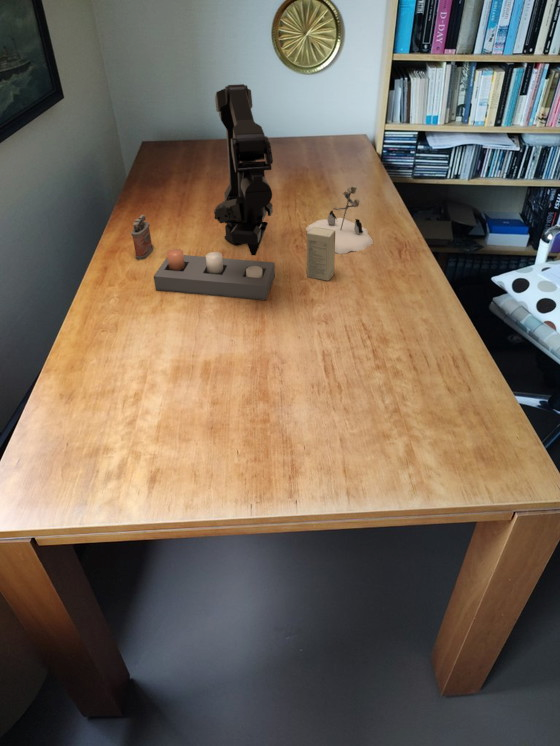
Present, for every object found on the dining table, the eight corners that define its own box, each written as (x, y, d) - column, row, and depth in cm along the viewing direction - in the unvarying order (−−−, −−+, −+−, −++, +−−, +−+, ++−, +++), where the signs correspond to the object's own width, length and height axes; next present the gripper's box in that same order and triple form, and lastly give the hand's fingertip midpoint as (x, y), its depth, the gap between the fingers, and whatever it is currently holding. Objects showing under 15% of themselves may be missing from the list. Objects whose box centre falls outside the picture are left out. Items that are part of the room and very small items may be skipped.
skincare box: (334, 274, 143) (337, 230, 135) (328, 281, 140) (331, 237, 132) (311, 269, 145) (313, 225, 138) (305, 276, 142) (306, 232, 134)
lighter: (144, 260, 149) (138, 225, 143) (133, 259, 150) (126, 224, 144) (155, 247, 155) (150, 213, 149) (144, 246, 156) (138, 212, 150)
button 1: (225, 267, 139) (223, 252, 136) (221, 274, 136) (219, 260, 133) (209, 265, 139) (208, 251, 137) (205, 273, 136) (203, 258, 134)
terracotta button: (186, 263, 140) (185, 249, 137) (182, 271, 137) (180, 256, 134) (171, 262, 141) (169, 248, 138) (166, 270, 137) (164, 255, 135)
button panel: (274, 276, 142) (274, 262, 140) (265, 300, 133) (265, 286, 131) (171, 267, 146) (169, 253, 144) (155, 290, 137) (153, 276, 135)
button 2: (264, 280, 139) (263, 266, 137) (260, 288, 136) (260, 274, 134) (248, 279, 140) (248, 265, 137) (245, 287, 137) (244, 273, 134)
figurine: (292, 233, 160) (297, 178, 149) (336, 216, 170) (344, 164, 159) (340, 263, 150) (350, 208, 139) (384, 244, 159) (397, 191, 148)
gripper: (226, 174, 131) (230, 235, 141) (204, 205, 117) (211, 270, 127) (272, 177, 129) (273, 238, 139) (256, 208, 115) (258, 274, 125)
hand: (253, 254), depth 133 cm, fingers closed
